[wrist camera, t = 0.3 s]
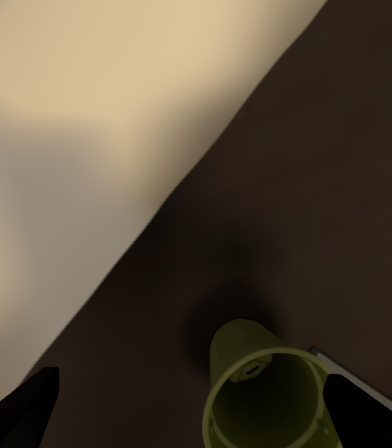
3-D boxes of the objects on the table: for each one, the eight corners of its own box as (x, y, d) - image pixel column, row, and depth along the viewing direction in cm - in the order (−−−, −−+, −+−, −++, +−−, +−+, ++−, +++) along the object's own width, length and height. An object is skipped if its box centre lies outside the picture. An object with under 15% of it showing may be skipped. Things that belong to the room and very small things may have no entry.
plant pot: (257, 281, 24) (303, 319, 15) (305, 360, 25) (375, 440, 16) (174, 334, 23) (173, 405, 15) (225, 414, 24) (253, 525, 15)
